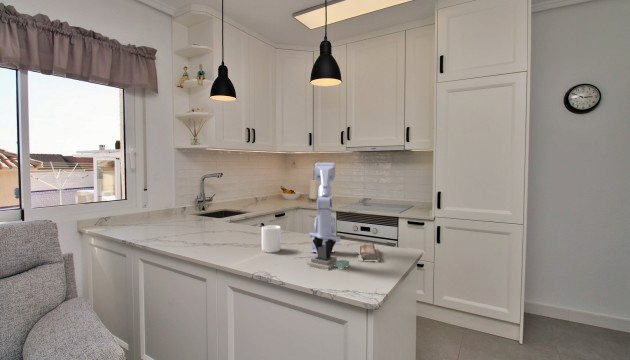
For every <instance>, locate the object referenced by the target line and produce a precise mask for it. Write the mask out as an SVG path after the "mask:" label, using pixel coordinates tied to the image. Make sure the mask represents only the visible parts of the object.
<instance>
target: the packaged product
mask: <svg viewBox="0 0 630 360" xmlns="http://www.w3.org/2000/svg"><path fill="white" fill-rule="evenodd" d="M359 249H360V255H361V258H362V259H363V260H377V261H379V260H380V261H381V259H380V253H379V249H378V248H375V245H374V243H372V242H368V243H366V242H365V243H363V244H360V246H359Z"/></svg>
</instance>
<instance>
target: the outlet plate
mask: <svg viewBox="0 0 630 360" xmlns="http://www.w3.org/2000/svg"><path fill="white" fill-rule="evenodd" d="M339 260H342V258H337V256H333V255H331V259H330V260H328V261H324V260H319V259H318V255H316V256H314V257H312V258H311V260H310V261H308V262H307V264H306V266H307V265H310V266H309V267H312V266H314V267H313V268H316V267H319V268H318V269H320V268H323V269H322V270H325V269H329V268H330V269H332V268H334V267H335V266H334V265H335V262H337V261H339ZM333 266H334V267H333ZM331 267H332V268H331ZM330 269H329V270H330Z"/></svg>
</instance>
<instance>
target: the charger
mask: <svg viewBox="0 0 630 360" xmlns="http://www.w3.org/2000/svg"><path fill="white" fill-rule="evenodd" d="M317 256H318V259H319V260H324V261H328V260H330V259H331V256H332V255H331V256H330V257H327V249H326V245H321V246H319V247H318V253H317Z"/></svg>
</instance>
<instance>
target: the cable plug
mask: <svg viewBox="0 0 630 360" xmlns="http://www.w3.org/2000/svg"><path fill="white" fill-rule="evenodd" d="M348 265H349V266H350V260H348V259H342V258H341V260H339V261H337V262H335V266H334V268H336V267H339V268H344V267H346V266H348ZM339 268H338V269H339ZM346 268H347V267H346ZM344 269H345V268H344Z"/></svg>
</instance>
